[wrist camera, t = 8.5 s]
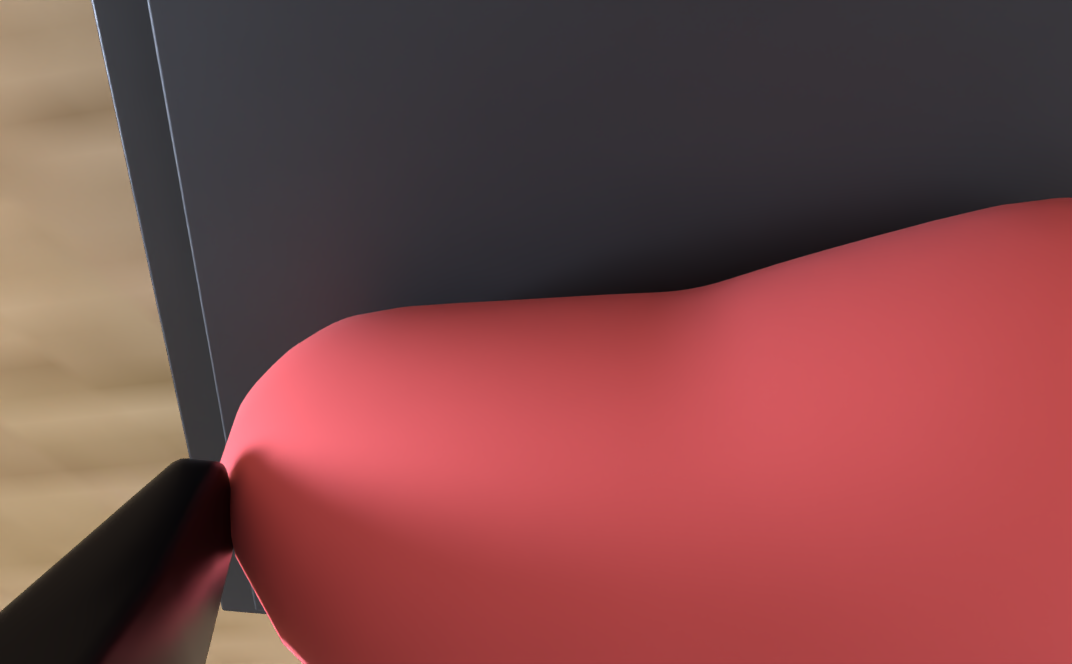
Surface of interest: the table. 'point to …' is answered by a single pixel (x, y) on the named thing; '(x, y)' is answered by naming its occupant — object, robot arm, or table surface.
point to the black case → (545, 152)
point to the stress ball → (685, 466)
